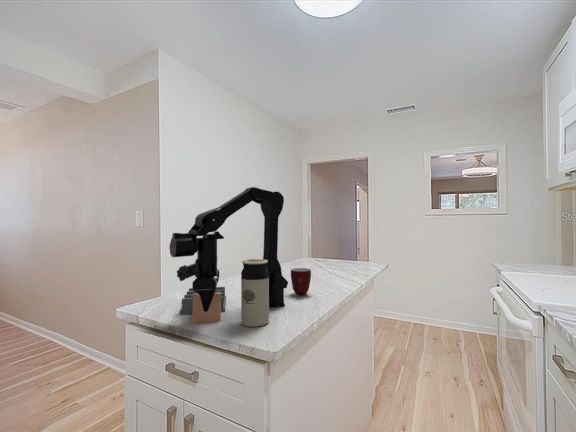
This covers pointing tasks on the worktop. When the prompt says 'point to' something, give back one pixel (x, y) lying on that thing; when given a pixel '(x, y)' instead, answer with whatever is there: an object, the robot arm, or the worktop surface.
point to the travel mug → (254, 293)
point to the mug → (300, 280)
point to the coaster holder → (188, 301)
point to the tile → (212, 313)
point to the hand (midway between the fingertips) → (207, 306)
